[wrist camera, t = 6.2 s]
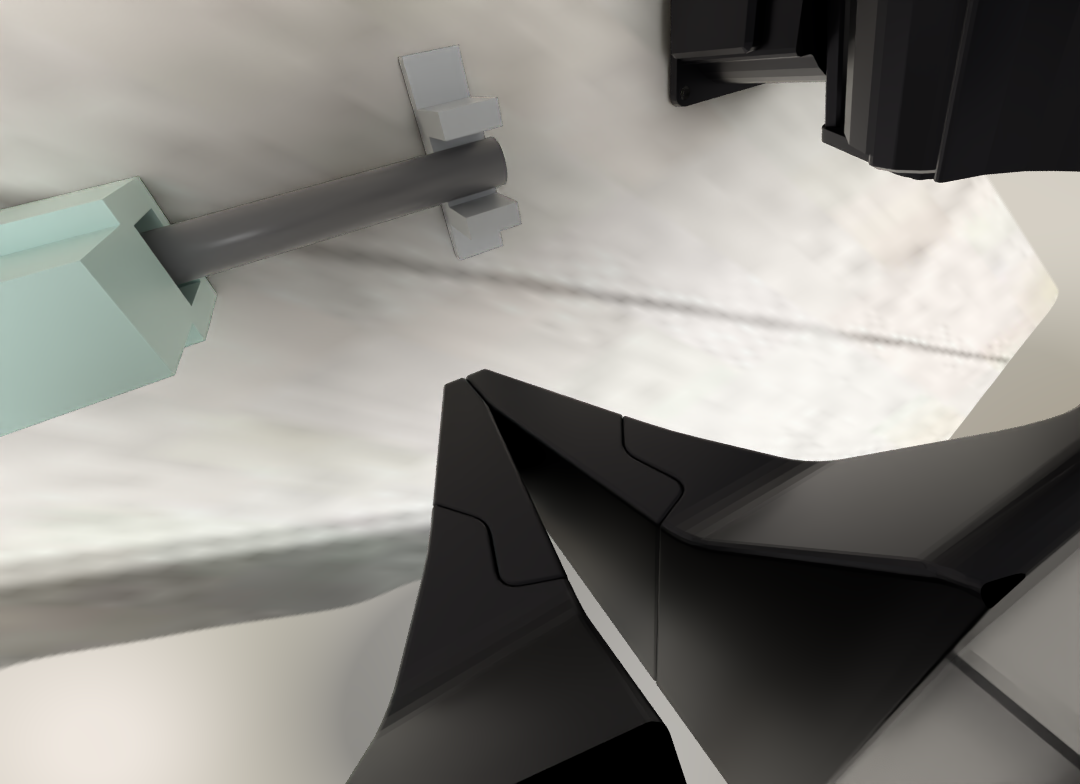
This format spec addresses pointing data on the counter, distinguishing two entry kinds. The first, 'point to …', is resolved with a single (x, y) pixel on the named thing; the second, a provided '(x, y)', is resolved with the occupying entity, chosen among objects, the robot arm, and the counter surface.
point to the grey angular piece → (370, 187)
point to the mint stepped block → (88, 303)
